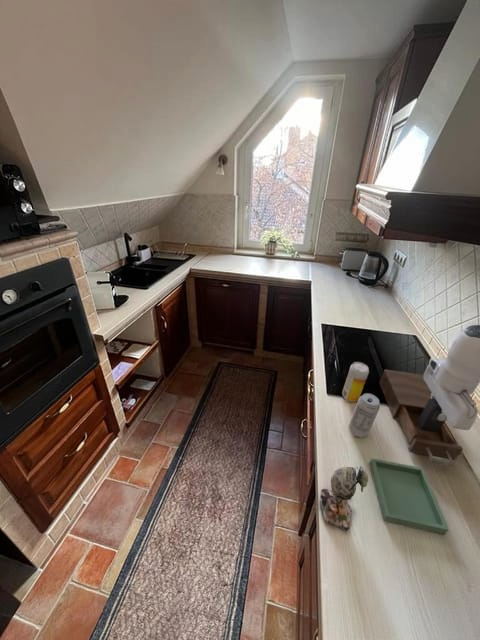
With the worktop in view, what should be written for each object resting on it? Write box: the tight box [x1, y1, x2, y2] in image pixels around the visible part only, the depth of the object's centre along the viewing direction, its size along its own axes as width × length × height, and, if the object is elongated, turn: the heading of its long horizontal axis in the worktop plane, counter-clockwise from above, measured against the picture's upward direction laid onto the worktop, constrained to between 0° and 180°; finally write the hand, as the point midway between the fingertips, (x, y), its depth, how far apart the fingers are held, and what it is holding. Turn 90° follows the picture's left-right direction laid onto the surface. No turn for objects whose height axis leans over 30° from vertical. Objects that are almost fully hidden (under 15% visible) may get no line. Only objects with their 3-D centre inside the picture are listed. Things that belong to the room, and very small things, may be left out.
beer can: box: [341, 361, 370, 403], centre depth 93 cm, size 6×6×15 cm
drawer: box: [397, 406, 464, 467], centre depth 80 cm, size 21×12×5 cm, turn 169°
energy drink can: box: [348, 392, 381, 438], centre depth 80 cm, size 6×6×15 cm
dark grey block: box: [417, 398, 448, 433], centre depth 78 cm, size 5×3×11 cm, turn 79°
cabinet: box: [378, 369, 432, 420], centre depth 93 cm, size 18×14×7 cm
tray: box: [369, 458, 449, 535], centre depth 67 cm, size 14×15×2 cm
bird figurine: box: [319, 465, 369, 532], centre depth 60 cm, size 8×11×20 cm
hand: (436, 412), depth 77 cm, fingers closed on dark grey block, 3 cm apart
